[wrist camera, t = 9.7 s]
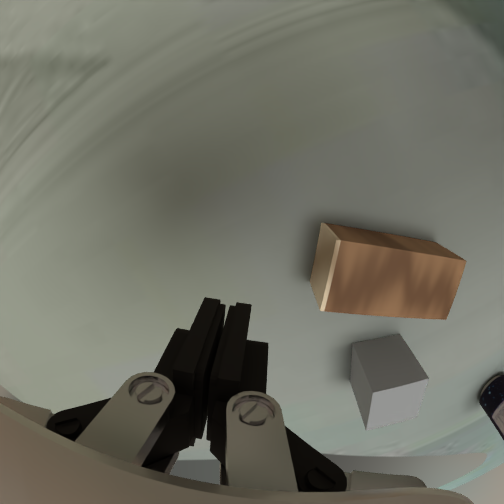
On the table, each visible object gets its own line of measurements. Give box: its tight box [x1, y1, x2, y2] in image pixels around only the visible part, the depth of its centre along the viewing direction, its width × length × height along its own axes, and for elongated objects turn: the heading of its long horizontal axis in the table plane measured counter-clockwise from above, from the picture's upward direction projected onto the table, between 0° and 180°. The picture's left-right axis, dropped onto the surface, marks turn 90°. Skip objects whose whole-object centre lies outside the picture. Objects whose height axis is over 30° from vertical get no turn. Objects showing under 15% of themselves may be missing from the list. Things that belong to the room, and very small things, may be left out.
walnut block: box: [310, 223, 466, 320], centre depth 21 cm, size 5×5×11 cm
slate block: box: [350, 334, 429, 430], centre depth 24 cm, size 5×5×7 cm
